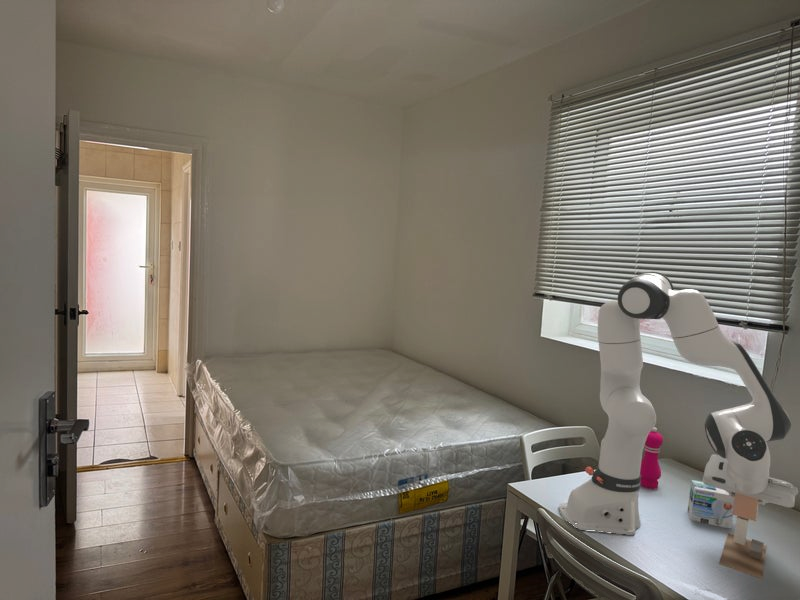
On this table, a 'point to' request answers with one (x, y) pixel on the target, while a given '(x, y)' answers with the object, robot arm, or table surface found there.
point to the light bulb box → (710, 505)
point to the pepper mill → (651, 460)
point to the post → (741, 530)
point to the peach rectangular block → (745, 507)
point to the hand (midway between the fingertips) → (746, 497)
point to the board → (744, 556)
